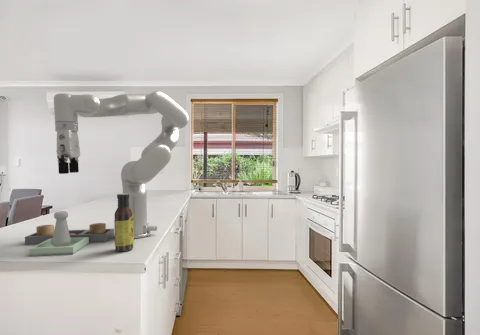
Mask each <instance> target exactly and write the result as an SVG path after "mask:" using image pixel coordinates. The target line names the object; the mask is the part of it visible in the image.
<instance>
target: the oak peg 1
mask: <svg viewBox="0 0 480 335" xmlns="http://www.w3.org/2000/svg"><path fill="white" fill-rule="evenodd" d="M35 230H36V232H37V236H51V235H53V234H54V230H55V224H44V225H43V224H42V225H38V226H36V229H35Z"/></svg>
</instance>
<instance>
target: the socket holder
mask: <svg viewBox="0 0 480 335" xmlns="http://www.w3.org/2000/svg"><path fill="white" fill-rule="evenodd" d="M69 234H70V238H78V237H89V243H102V242H103V243H105V242H108V241H110V240H111V239H112V238H113V237H115V228H106V233H105V234H90V229H69ZM51 238H53V235H51V236H37V231H36V232H33V233H31V234H28V235H26V236H25V237H24V245H25V246H26V245H27V246H28V245H30V246H31V245H33V246H34V245H38V244H40V243H42V242H44V241H46V240H48V239H51Z"/></svg>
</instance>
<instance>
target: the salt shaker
mask: <svg viewBox="0 0 480 335" xmlns="http://www.w3.org/2000/svg"><path fill="white" fill-rule="evenodd" d="M53 214H54V215H53V218H54V219H55V224H54V234H53V239H52V244H53V245H54V247H64V246H69V244H70V241H71V239H70V234H69V230H70V229H69V226H68V220H67V218H68V217H69V212H67V211H66V210H65V211H63V210H59V211H56V212H54V213H53Z"/></svg>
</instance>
